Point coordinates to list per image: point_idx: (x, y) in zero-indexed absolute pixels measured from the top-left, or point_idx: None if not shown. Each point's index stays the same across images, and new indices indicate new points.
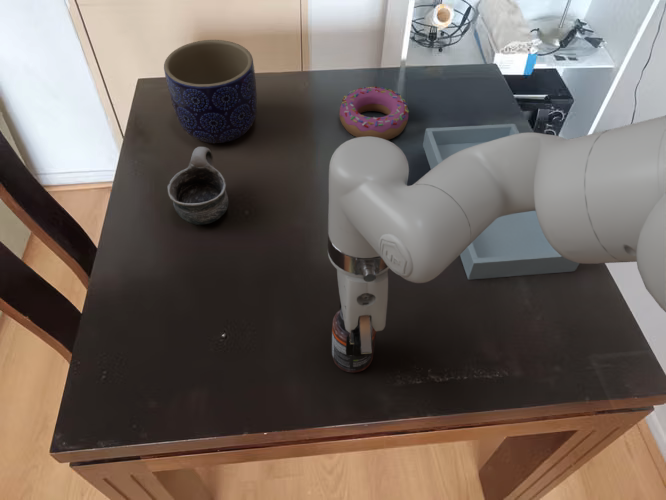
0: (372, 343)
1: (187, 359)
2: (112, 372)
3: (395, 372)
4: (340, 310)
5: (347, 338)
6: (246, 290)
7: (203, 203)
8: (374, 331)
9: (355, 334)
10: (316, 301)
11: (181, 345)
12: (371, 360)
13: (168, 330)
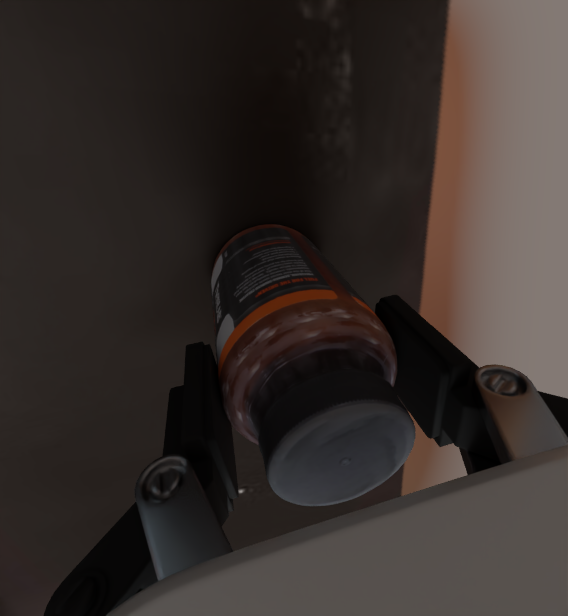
0: (343, 282)
1: (290, 510)
2: None
3: (313, 149)
4: (329, 503)
5: (450, 443)
6: (126, 497)
7: None
8: (357, 314)
9: (482, 450)
10: (110, 379)
11: (266, 523)
12: (292, 230)
13: (241, 543)
